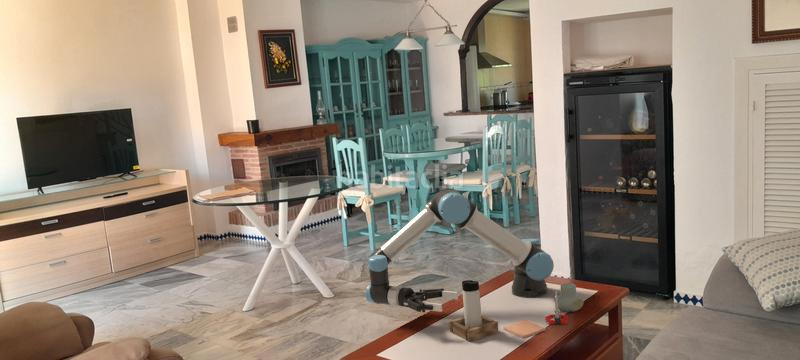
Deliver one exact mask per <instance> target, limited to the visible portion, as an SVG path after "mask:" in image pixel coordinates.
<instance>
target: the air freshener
mask: <svg viewBox="0 0 800 360" xmlns="http://www.w3.org/2000/svg"><path fill="white" fill-rule="evenodd" d="M576 285H577V284H575V283H572V282H563V283H562V284H560V294H559V295H557V296H558V308H559V311H560V310H561V311H562V312H569V313H574V312H577V311H578V310H581V308H582V307H583V306H584V298H583V297H582V296H581V295H579V294H577V286H576Z"/></svg>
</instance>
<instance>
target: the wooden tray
mask: <svg viewBox="0 0 800 360" xmlns="http://www.w3.org/2000/svg"><path fill="white" fill-rule="evenodd" d="M481 317H482V325H481V326H478V327H475V328H472V329H469V328H467V327H465V316H462V317H459V318H456V319H453V320H449V321H448V326H449V332H450V333H453V335H455V336H458V337H460V338H462V339H463V340H465V341H467V342H469V343H470V342H474V341H476V340H481V339H483V338H486V337H490V336H492V335H495V334H498V333H499V322H498V321H497V320H494V319H492V318H489V317H487V316H485V315H483V314H481Z"/></svg>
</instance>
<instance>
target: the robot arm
mask: <svg viewBox="0 0 800 360" xmlns="http://www.w3.org/2000/svg"><path fill="white" fill-rule="evenodd" d="M443 220H444V221H445V222H447V223H449V224H452V225H454V226H455V227H456V228H458V229H460V230H463V229H466V230H467V231H469V232H471V233H472V234H474V235H475V236H477V237H478V238H479V239H480V240H483V241H484V242H486V243H487V244H488V245H490V246H491V247H493V248H494V249H495V250H497V251H499V252H501V253H502V254H503V255H505V256H506V257H508V258H509V259H510V260H512V265H513V269H514V277H513V280H512V285H511V294H513V295H514V296H518V297H521V298H533V297H534V298H535V297H540V296H543V295H545V294H547V293H548V284H547V282H546V279H548V278H549V277H550V276H551V275H552V273H553V271H554V266H555V264H554V261H553V258H552V257H551V255H550V254H549V253H547V252H546V251H544V250H543V249H542V248H541V241H540V239H539V238H522V239H520V238H519V237H517V236H516V235H514V234H513V233H511V232H510V231H508V230H506V229H505V228H503V226H501V225H499V224H498V223H497V222H495V221H494V220H492V219H491V218H489V217H488V216H486V215H485V214H484V213H482V212H480V210H478V205H477V204H475V203H474V202H472V200H470V199H469V198H467V197H465V196H464V195H462V194H461V193H460V192H459V191H458V190H456V189H454V188H444V189H442V190H440V191H438V193H436V194H435V195H434V196H433V197H432V198H431V199H430V200H429V201H428V202H427V203H426V204H425V206H424V209H422V210H421V211H420V212H419V213H418V214H417V215H416V216H414V217H413V218H412V219H411V220H410V221H409V222H408V223H406V224H405V225H404V226H403V227H402V228H401V229H400V230H399V231H397V232H396V233H395V234H393V236H392V237H391V238H390V239H388V240H387V241H386V242H385V243H384V244H383V245H382V246H380V247H379V248H378V249H377V250H374V251H372V252H370V254H369V255H368V258H367V265H368V273H369V280H370V284H368V285H367V287H366V288H365V295H364V296H365V299H366V301H368V303H373V304H376V305H387V306H394V307H402V308H403V307H404V308H409V309H411V310H414V311H416V312H418V313H421V312H422V313H426V311H433V312H439V313H440V312H441V313H442V312H443V306H442V305H443V304H442V303H435V302H426V301H428V300H431V299H437V298H442V299H447V300H449V299H450V300H459V292H457V291H448V290H445V288H444V287H443V288H431V289H430V288H429V289H421V288H420V289H419V291H414V289H413V288H412V287H405V286H403V287H402V286H397V285H396V286H395V285H390V280H389V279H390V278H389V268H388V267H389V264H390V263H392V262H393V261H394V260H395V259H396V258H397V257H398V256H399V255H400V254H402V253H403V252H404V251H405V250H406V249H407V248H408V247H410V246H411V245H412V244H413V243H414V242H416V241H417V240H418V239H419V238H420V237H421V236H422V235H424V234H425V233H426V232H427V231H429V229H431V228H432V227H433V226H434V225H435V224H436V223H437V222H438V223H442V222H443ZM424 302H425V303H424Z"/></svg>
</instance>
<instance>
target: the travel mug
mask: <svg viewBox="0 0 800 360" xmlns="http://www.w3.org/2000/svg"><path fill="white" fill-rule="evenodd" d="M479 283H480V282H479V280H478V281H477V280H473V279H471V280H470V279H467V280H462V281H461V287H462V290H461V291H462V299H463V300H462V301H463V304H462V305H463V312H464V313H463V314H464V315H463V317H465V327H467V328H469V329H472V328H475V327H478V326H481V325H482V317H481V315H482V306H481V295H480V284H479Z"/></svg>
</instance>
